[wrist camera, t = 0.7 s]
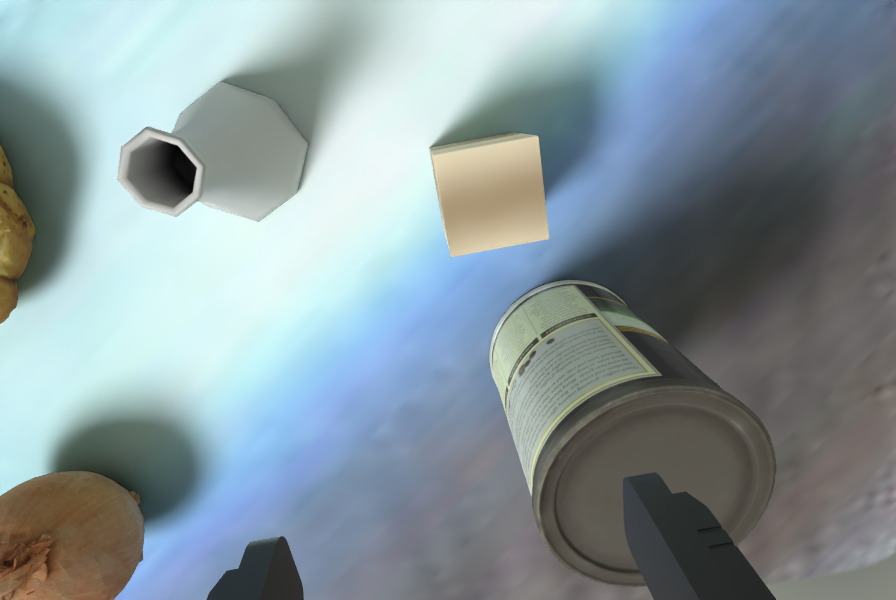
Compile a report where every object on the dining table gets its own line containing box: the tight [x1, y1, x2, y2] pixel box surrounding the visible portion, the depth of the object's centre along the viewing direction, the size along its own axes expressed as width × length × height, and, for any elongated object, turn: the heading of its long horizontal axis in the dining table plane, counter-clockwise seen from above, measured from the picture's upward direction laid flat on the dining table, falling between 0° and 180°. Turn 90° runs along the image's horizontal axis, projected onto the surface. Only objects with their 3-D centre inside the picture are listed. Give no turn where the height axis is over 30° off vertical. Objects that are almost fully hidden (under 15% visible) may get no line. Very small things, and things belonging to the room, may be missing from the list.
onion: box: [0, 471, 144, 600], centre depth 32 cm, size 10×9×10 cm
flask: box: [117, 81, 308, 222], centre depth 24 cm, size 7×7×10 cm
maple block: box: [429, 132, 549, 257], centre depth 28 cm, size 5×5×6 cm
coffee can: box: [489, 280, 776, 587], centre depth 28 cm, size 10×10×14 cm
